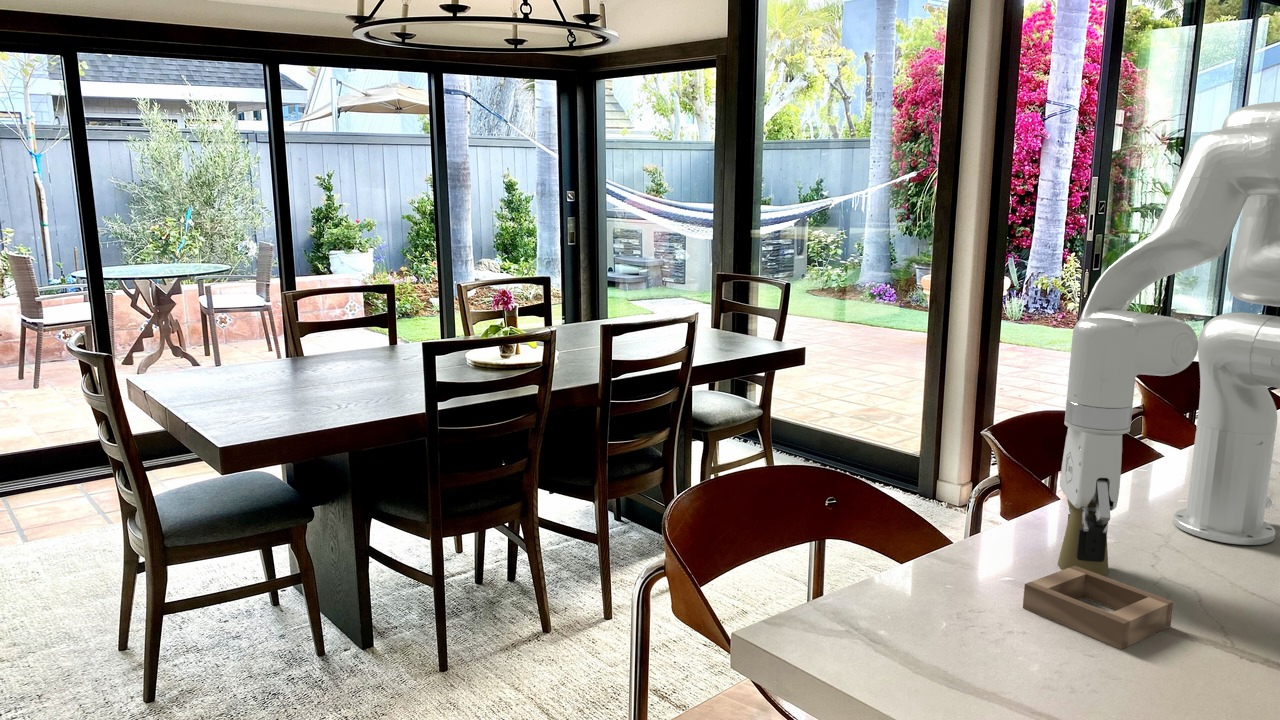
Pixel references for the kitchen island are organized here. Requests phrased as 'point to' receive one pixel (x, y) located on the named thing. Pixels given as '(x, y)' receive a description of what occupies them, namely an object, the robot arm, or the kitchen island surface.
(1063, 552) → the tan rounded tapered piece
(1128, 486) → the kitchen island surface
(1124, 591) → the walnut holder
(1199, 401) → the robot arm
